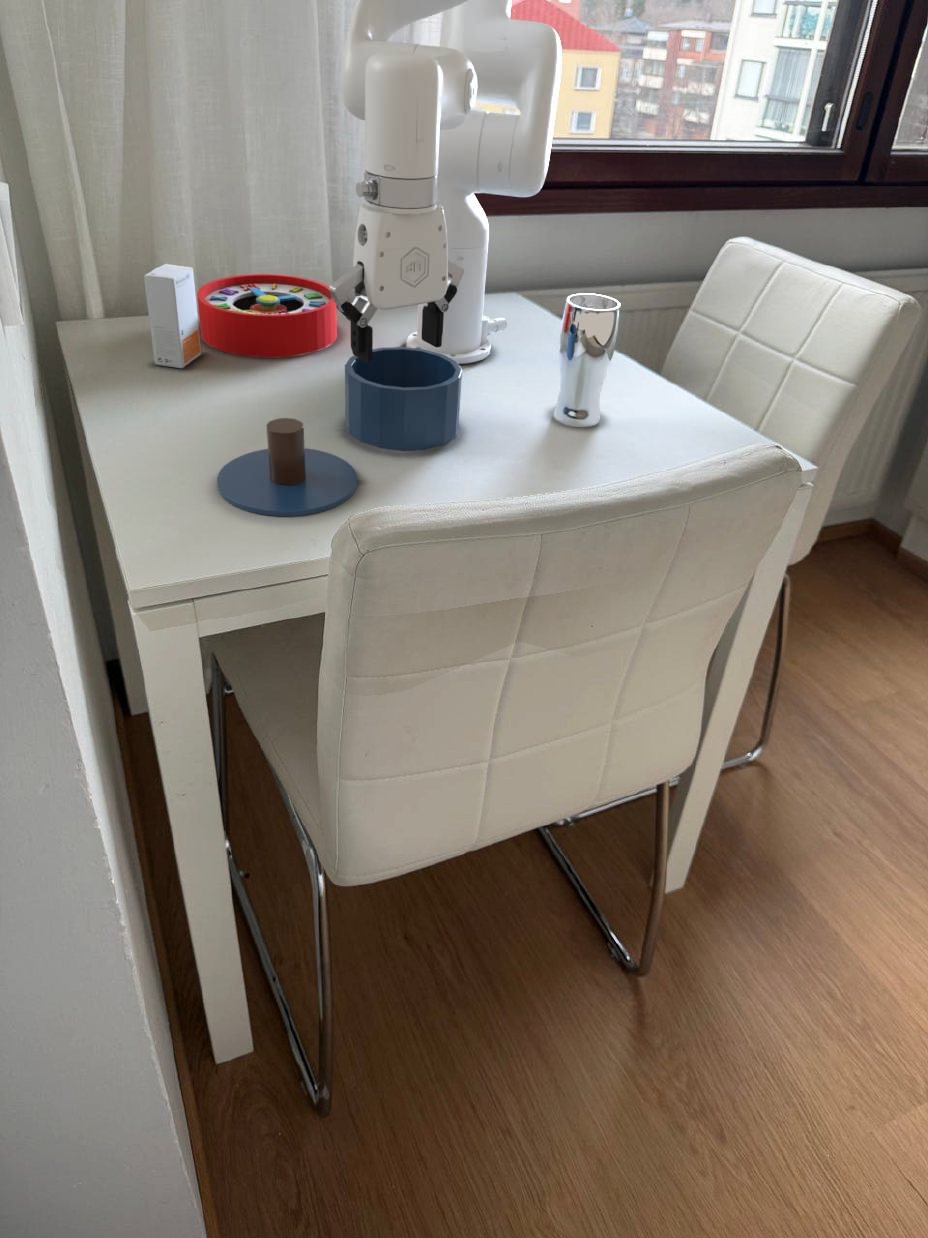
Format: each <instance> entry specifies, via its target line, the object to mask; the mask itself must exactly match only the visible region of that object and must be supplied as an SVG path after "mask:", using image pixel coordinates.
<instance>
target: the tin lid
mask: <svg viewBox="0 0 928 1238" xmlns="http://www.w3.org/2000/svg"><path fill="white" fill-rule="evenodd" d="M266 440H267V448H265V449H260V450H255V451H251V452H248V453H245V454H242V455H240V456H238V457H236V458H234V459H232V460H230V461H229V462H228V463H226V464H225V465H223V467H222V468H220V471H219V472H218V474H217V478H216V485H217V486H216V487H217V490H218V492H219V494H220V496H221V497H222V498H223V499H224V500H225V501H226V502H228V503H229V504H230V505H232V506H234V507H236V508H238V509H241V510H244V511H246V512H249V513H252V514H258V515H263V516H271V517H299V516H301V517H302V516H307V515H313V514H317V513H322V512H325V511H328V510H332V509H333V508H336V507H338V506H340V505H342V504H344V503H345V502H346V501H347V500H349V499H350V498H351V497H352V496H353V494H354V493H355V491H356V489H357V487H358V477H357V476H358V475H357V472H356V471H355V468H353V466H352V465H351V464H350V463H349V462H347V461H346V460H345V459H343V458H341V457H339V456H338V455H334V454H332V453H330V452H326V451H323V450H319V449H315V448H313V449H312V448H306V447H305V446H306V445H305V425H304V423H303V422H302V421H300V420H298V419H295V418H289V417H282V418H281V417H280V418H274V419H272V420H270V421H268V422H267V424H266Z"/></svg>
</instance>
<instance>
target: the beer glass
mask: <svg viewBox="0 0 928 1238" xmlns="http://www.w3.org/2000/svg"><path fill="white" fill-rule="evenodd" d="M620 309H621V303H620V302H619V301H618V300H617V299H615V298H613V297H610V296H607V295H602V294H596V293H576V294H571V295H568V296H567V297H566V299H565V306H564V310H563V315H562V320H561V326H560V332H559V342H558V361H559V362H558V363H559V393H558V397H557V400H556V403H555V406H554V409H553V416H552V417H553V418H554V420H556V421H557V422H558V423H560V424H562V425H565V426H568V427H573V428H590V427H593V426H596V425H598V424H599V423H600V420H601V396H602V395H601V394H602V390H603V387H604V383H605V380H606V377H607V375H608V372H609V368H610V366H611V362H612V359H613V357H614V353H615V349H616V344H617V339H618V332H619V323H620V322H619V321H620Z"/></svg>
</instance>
